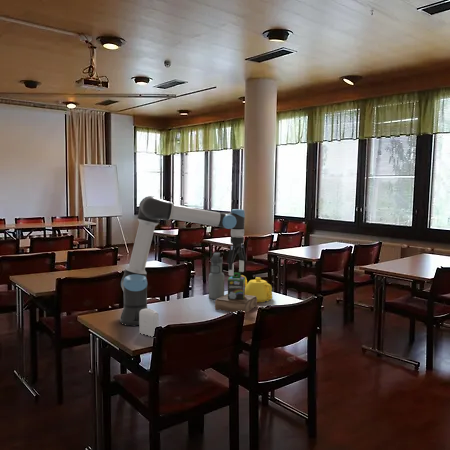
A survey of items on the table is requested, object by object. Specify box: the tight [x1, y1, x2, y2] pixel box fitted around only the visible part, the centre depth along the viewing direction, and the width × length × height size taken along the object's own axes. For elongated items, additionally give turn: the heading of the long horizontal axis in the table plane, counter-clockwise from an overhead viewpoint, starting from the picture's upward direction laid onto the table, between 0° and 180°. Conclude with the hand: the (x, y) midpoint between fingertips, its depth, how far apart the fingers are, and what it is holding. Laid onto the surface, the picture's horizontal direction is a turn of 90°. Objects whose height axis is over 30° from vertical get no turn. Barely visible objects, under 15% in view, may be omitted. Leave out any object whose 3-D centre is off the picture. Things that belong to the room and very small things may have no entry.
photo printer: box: [138, 307, 160, 338], centre depth 214 cm, size 10×4×12 cm, turn 54°
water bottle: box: [208, 252, 225, 300], centre depth 285 cm, size 10×10×28 cm
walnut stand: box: [214, 293, 258, 313], centre depth 263 cm, size 18×18×6 cm
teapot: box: [241, 274, 273, 303], centre depth 284 cm, size 25×18×14 cm
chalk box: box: [227, 272, 246, 300], centre depth 262 cm, size 9×9×15 cm
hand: (236, 273), depth 262 cm, fingers open, 13 cm apart
